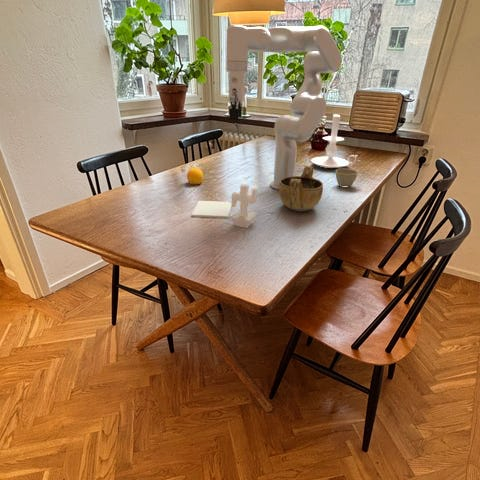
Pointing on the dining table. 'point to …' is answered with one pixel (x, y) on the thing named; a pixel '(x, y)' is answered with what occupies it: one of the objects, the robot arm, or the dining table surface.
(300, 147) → the dining table surface
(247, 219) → the figurine
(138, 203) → the dining table surface
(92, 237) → the dining table surface
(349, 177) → the flower pot
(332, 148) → the candlestick
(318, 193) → the tan round basket
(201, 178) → the apple
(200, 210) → the cream board
